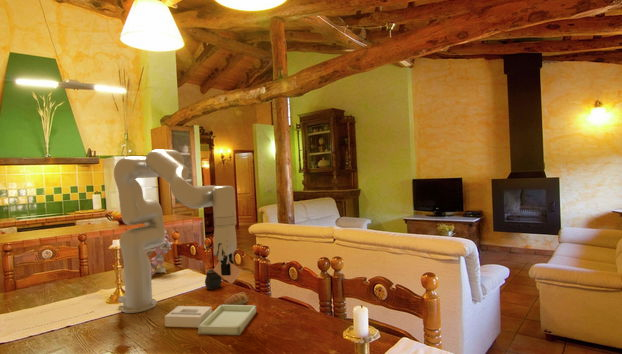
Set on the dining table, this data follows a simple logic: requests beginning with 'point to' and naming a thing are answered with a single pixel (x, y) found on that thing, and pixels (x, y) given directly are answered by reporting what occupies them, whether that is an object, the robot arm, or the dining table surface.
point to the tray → (227, 320)
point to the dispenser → (187, 316)
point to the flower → (159, 258)
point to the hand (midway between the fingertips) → (227, 273)
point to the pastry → (236, 299)
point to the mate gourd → (212, 280)
